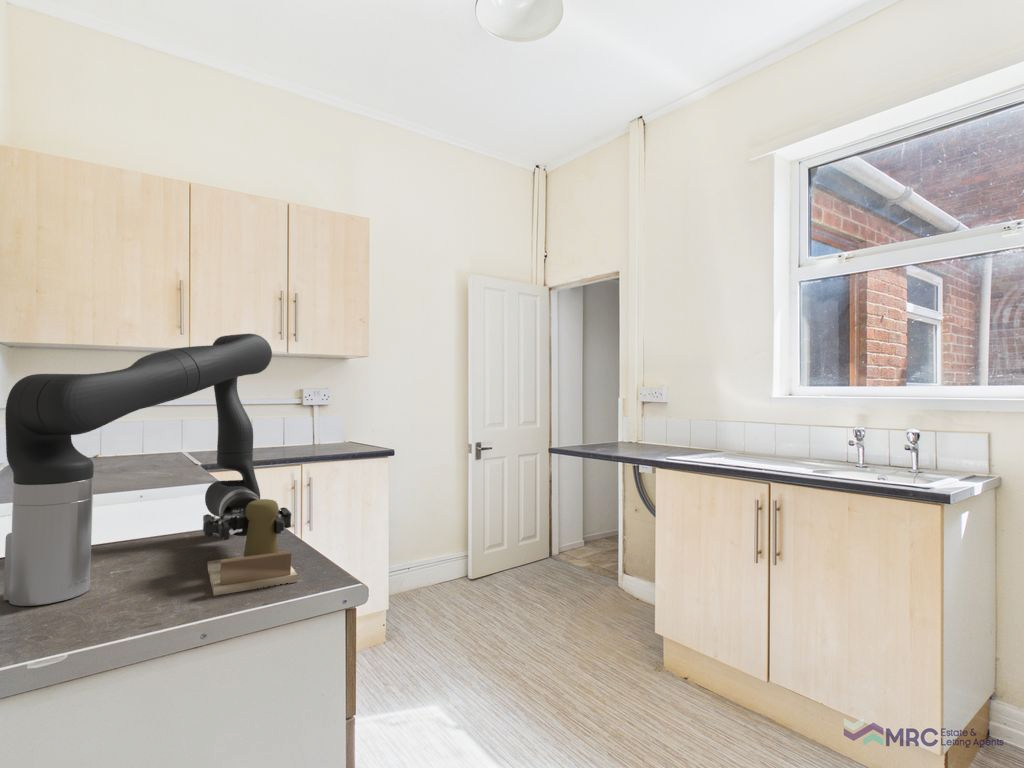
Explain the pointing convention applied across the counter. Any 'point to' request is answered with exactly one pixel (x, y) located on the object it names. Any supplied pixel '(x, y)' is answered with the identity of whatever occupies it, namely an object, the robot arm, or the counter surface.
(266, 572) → the wooden stand base
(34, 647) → the counter surface
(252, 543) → the cork
